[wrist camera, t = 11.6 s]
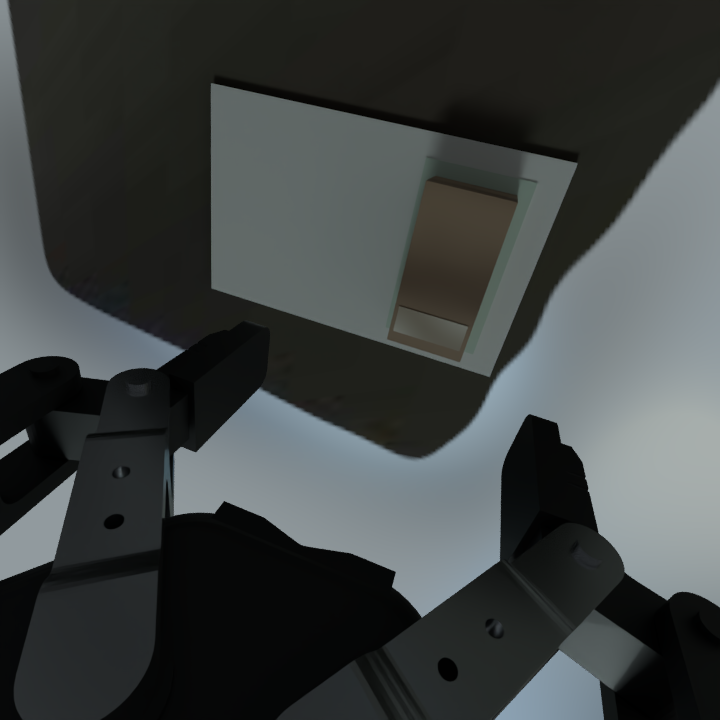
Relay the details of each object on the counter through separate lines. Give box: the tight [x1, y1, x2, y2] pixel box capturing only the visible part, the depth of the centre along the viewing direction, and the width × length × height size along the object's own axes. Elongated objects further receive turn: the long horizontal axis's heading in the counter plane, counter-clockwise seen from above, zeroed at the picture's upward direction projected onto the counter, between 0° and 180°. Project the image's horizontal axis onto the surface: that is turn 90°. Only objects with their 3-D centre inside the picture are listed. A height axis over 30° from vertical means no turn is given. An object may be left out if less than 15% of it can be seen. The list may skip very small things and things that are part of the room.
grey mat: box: [211, 83, 578, 377], centre depth 26 cm, size 21×13×1 cm, turn 79°
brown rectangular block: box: [387, 176, 518, 362], centre depth 24 cm, size 9×4×3 cm, turn 169°
